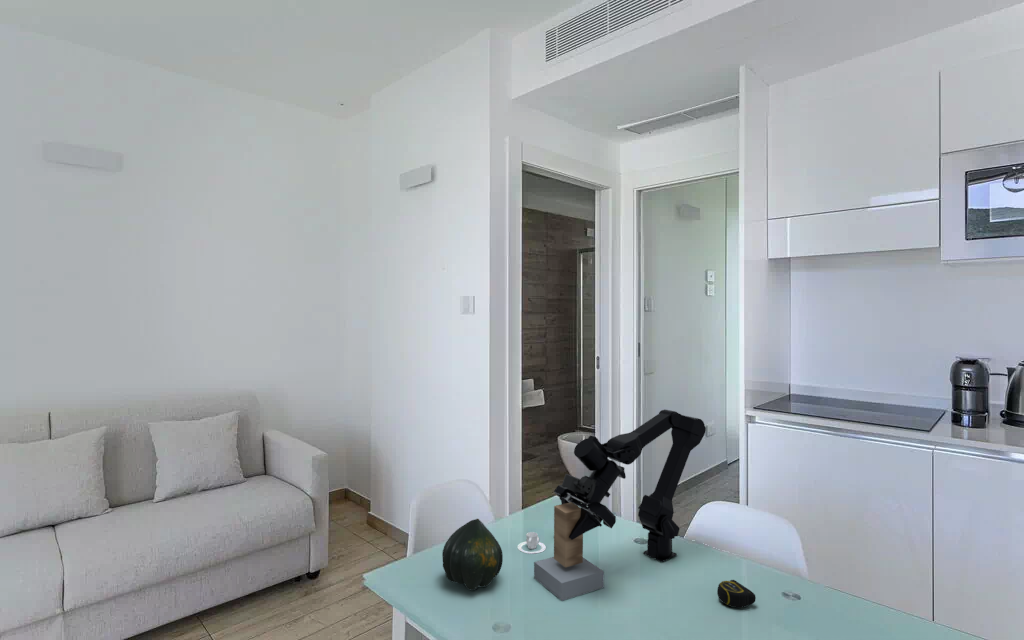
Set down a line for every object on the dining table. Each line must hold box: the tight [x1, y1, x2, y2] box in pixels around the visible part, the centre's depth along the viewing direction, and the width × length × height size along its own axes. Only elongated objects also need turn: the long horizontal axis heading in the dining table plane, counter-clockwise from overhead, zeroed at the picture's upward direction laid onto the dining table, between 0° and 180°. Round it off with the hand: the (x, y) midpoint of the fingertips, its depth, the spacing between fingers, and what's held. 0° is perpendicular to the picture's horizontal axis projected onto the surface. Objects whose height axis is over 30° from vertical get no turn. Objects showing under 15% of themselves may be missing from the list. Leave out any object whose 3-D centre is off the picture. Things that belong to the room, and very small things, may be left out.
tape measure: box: [716, 579, 756, 608], centre depth 120 cm, size 7×7×4 cm
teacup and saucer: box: [516, 531, 547, 555], centre depth 149 cm, size 9×8×4 cm
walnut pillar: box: [553, 502, 584, 568], centre depth 128 cm, size 5×5×13 cm
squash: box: [441, 518, 504, 591], centre depth 130 cm, size 14×15×15 cm
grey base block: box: [533, 556, 605, 602], centre depth 129 cm, size 12×12×4 cm
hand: (563, 534), depth 128 cm, fingers closed on walnut pillar, 5 cm apart
